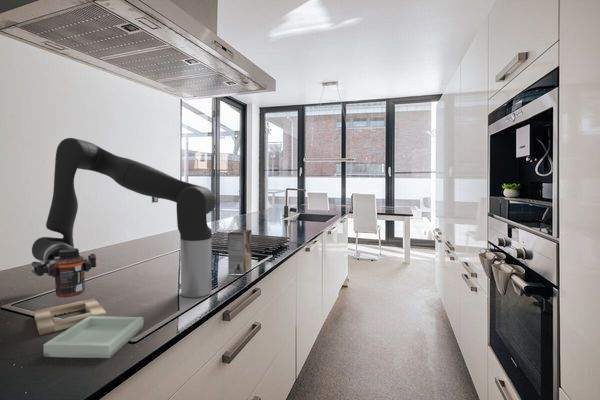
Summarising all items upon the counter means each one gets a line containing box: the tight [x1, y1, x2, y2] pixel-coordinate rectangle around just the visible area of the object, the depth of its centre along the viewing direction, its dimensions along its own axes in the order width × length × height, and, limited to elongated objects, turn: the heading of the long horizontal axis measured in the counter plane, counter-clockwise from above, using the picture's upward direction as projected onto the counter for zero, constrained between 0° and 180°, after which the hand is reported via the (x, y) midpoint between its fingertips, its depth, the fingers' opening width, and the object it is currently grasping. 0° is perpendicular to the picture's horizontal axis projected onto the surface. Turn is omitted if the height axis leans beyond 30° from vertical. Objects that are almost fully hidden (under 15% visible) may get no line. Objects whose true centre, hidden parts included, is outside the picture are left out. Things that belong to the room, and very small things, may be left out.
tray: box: [42, 315, 145, 359], centre depth 67 cm, size 13×13×2 cm
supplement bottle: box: [54, 248, 86, 298], centre depth 78 cm, size 6×6×11 cm
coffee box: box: [227, 229, 253, 276], centre depth 120 cm, size 9×6×16 cm
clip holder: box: [33, 297, 107, 336], centre depth 79 cm, size 13×13×2 cm
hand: (71, 270), depth 76 cm, fingers closed on supplement bottle, 6 cm apart
